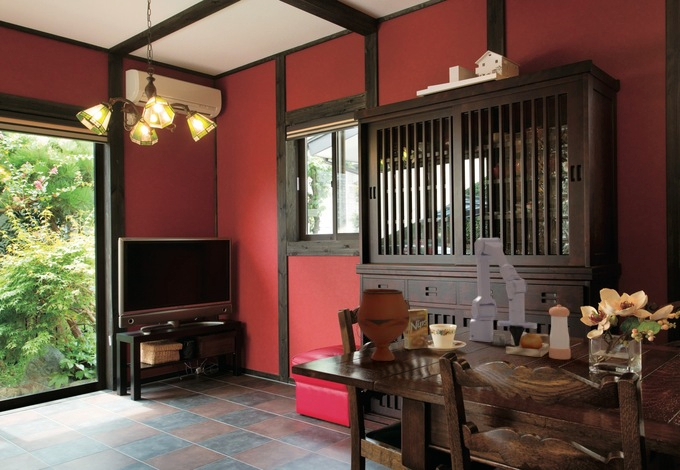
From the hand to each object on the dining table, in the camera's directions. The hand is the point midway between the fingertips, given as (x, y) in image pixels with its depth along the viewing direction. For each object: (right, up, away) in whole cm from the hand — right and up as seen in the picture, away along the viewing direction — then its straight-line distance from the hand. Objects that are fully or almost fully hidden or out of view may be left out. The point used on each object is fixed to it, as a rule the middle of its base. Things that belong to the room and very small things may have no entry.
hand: (517, 345), depth 211 cm
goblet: (-53, -2, -12) cm, 54 cm away
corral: (+4, -2, -2) cm, 5 cm away
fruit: (+4, -2, -3) cm, 6 cm away
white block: (+5, -2, +12) cm, 13 cm away
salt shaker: (+12, -2, -12) cm, 17 cm away
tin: (-3, -2, +13) cm, 13 cm away
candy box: (-38, -3, +7) cm, 39 cm away
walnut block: (+12, -2, +7) cm, 14 cm away
